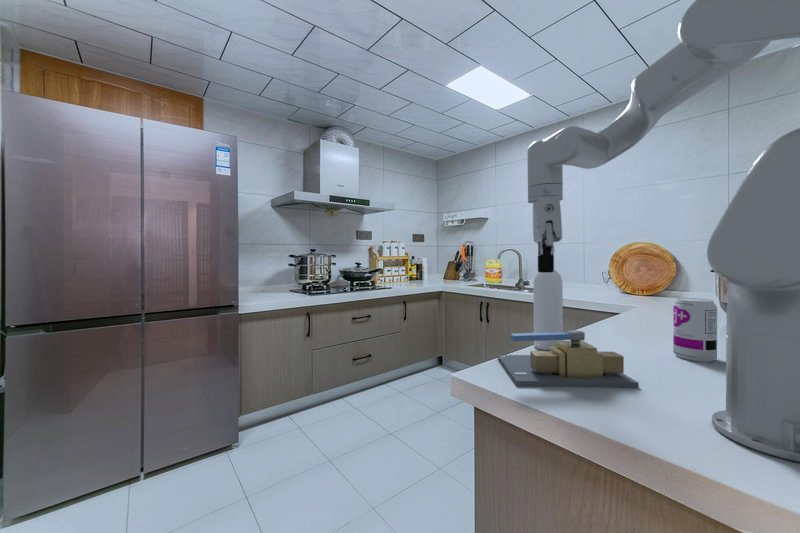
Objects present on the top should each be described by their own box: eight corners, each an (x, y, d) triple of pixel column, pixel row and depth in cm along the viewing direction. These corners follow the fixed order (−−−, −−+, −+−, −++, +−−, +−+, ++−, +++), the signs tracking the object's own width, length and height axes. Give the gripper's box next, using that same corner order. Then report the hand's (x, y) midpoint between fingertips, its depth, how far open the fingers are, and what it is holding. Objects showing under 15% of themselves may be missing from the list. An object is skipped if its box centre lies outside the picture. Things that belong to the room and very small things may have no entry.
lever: (578, 336, 72) (578, 330, 72) (588, 340, 68) (588, 333, 68) (509, 338, 71) (509, 331, 71) (515, 342, 68) (515, 335, 68)
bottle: (560, 344, 96) (560, 245, 96) (566, 352, 89) (565, 244, 88) (532, 343, 99) (531, 246, 98) (535, 350, 91) (533, 245, 91)
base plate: (638, 387, 64) (638, 381, 64) (516, 385, 66) (516, 380, 66) (592, 359, 82) (592, 354, 82) (497, 358, 84) (497, 354, 84)
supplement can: (684, 361, 79) (684, 301, 79) (667, 352, 87) (667, 297, 87) (725, 364, 77) (725, 302, 77) (703, 354, 85) (704, 298, 84)
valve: (627, 383, 66) (627, 343, 66) (537, 382, 68) (537, 343, 68) (610, 373, 72) (610, 336, 72) (529, 372, 74) (528, 336, 74)
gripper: (570, 186, 67) (571, 273, 68) (555, 199, 82) (556, 270, 82) (532, 189, 69) (533, 273, 70) (524, 201, 84) (525, 271, 84)
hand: (545, 272), depth 76 cm, fingers closed
